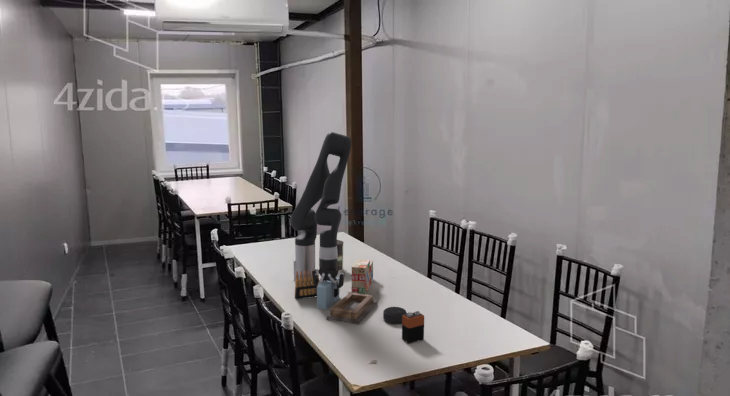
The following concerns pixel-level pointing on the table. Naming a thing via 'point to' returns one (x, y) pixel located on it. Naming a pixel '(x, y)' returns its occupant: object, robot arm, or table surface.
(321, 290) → the blue grey rectangular block
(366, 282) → the stack of blocks
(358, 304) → the cradle
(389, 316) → the smart speaker
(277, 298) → the table surface
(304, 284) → the ammunition clip
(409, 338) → the battery
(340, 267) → the coffee can
